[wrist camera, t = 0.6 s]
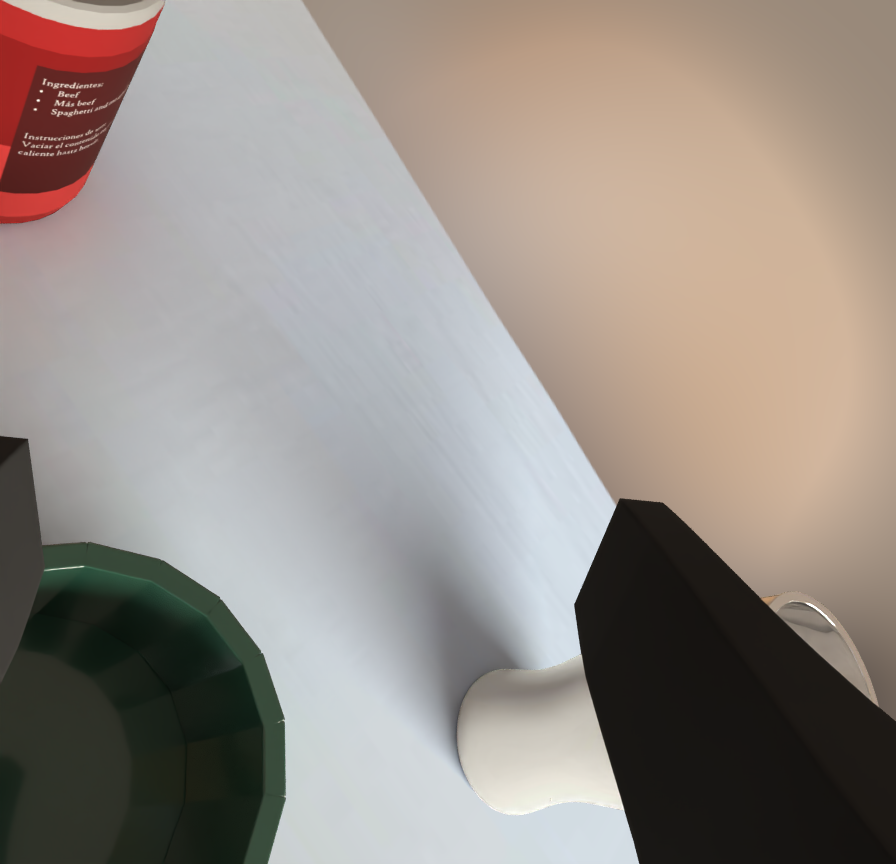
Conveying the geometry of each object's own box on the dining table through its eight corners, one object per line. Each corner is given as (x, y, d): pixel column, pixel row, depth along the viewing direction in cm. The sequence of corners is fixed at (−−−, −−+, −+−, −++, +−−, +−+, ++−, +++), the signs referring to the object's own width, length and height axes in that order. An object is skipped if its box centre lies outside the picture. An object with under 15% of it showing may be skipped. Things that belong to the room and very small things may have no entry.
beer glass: (422, 698, 32) (726, 630, 22) (525, 637, 37) (815, 557, 27) (488, 861, 31) (840, 873, 21) (585, 776, 36) (912, 751, 26)
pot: (65, 1096, 21) (139, 1167, 16) (-391, 924, 17) (-457, 955, 13) (260, 705, 28) (349, 680, 24) (-32, 528, 25) (7, 458, 20)
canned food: (-139, 25, 29) (-115, -277, 21) (89, 109, 33) (177, -111, 26) (-178, 188, 26) (-167, -93, 18) (78, 254, 30) (175, 55, 23)
